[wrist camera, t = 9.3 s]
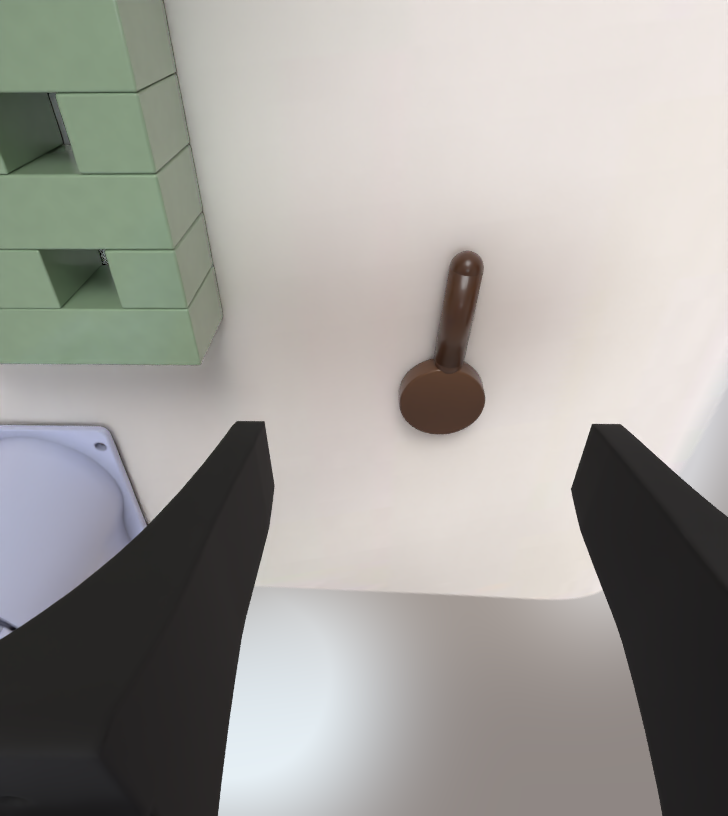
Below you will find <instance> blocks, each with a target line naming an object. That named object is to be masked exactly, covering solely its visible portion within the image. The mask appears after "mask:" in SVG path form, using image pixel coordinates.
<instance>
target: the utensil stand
mask: <svg viewBox="0 0 728 816" xmlns="http://www.w3.org/2000/svg"><path fill="white" fill-rule="evenodd" d="M175 72H176V67H175V61H174V56H173V51H172V46H171V40H170V35H169V30H168V25H167V20H166V14H165V9H164V4H163V0H0V364H106V365H201V363H202V361H203V359H204V357H205V355H206V353H207V350H208V348H209V346H210V344H211V342H212V340H213V337H214V335H215V333H216V331H217V329H218V327H219V324H220V322H221V320H222V318H223V313H222V307H221V302H220V297H219V292H218V286H217V281H216V276H215V271H214V266H212V265H213V262H212V256H211V251H210V246H209V241H208V235H207V230H206V225H205V220H204V215H203V213H202V210H203V209H202V204H201V199H200V193H199V188H198V183H197V178H196V172H195V167H194V162H193V157H192V151H191V147H190V145H188V144H189V136H188V131H187V125H186V120H185V115H184V110H183V104H182V99H181V94H180V89H179V83H178V78H177V75H176V74H174V73H175ZM47 93H57V94H56V100H57V103H58V106H59V110H60V113H61V116H62V119H63V122H64V125H65V129H66V132H67V135H68V138H69V141H70V144H71V145H62V144H63V140H62V137H61V134H60V131H59V128H58V125H57V122H56V119H55V115H54V112H53V109H52V106H51V103H50V100H49V97H48V94H47ZM98 249H106V250H105V255H106V258H107V261H108V265H102V261H101V258H100V255H99V252H98Z"/></svg>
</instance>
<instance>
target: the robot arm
mask: <svg viewBox="0 0 728 816" xmlns="http://www.w3.org/2000/svg"><path fill="white" fill-rule="evenodd" d="M100 443H102V444H104V445H102V444H100ZM571 491H572V496H573V501H574V505H575V510H576V514H577V518H578V522H579V526H580V530H581V533H582V536H583V539H584V542H585V544H586V547H587V549H588V552H589V555H590V557H591V560H592V563H593V565H594V568H595V571H596V573H597V576H598V578H599V581H600V583H601V586H602V589H603V591H604V594H605V596H606V599H607V602H608V604H609V607H610V609H611V612H612V614H613V617H614V620H615V622H616V625H617V628H618V631H619V634H620V637H621V640H622V643H623V647H624V650H625V654H626V658H627V661H628V665H629V669H630V673H631V677H632V680H633V684H634V688H635V692H636V696H637V700H638V704H639V708H640V712H641V716H642V720H643V725H644V729H645V733H646V737H647V742H648V746H649V751H650V756H651V761H652V765H653V770H654V775H655V779H656V784H657V788H658V794H659V799H660V805H661V810H662V815H663V816H728V517H727V516H726V515H725V514H723V513H722V512H721V511H719V510H718V509H717V508H716V507H714V506H713V505H712V504H711V503H710V502H708V501H707V500H706V499H705V498H704V497H702V496H701V495H700V494H699V493H698V492H696V491H695V490H694V489H693V488H692V487H691V486H689V485H688V484H687V483H686V482H685V481H684V480H682V479H681V478H680V477H679V476H678V475H677V474H676V473H675V472H674V471H672V470H671V469H670V468H669V467H668V466H667V465H666V464H665V463H663V462H662V461H661V460H660V459H659V458H658V457H657V456H656V455H655V454H654V453H652V452H651V451H650V450H649V449H648V448H647V447H646V446H645V445H644V444H643V443H641V442H640V441H639V440H638V439H637V438H636V437H635V436H634V435H632V434H631V433H630V432H629V431H628V430H627V429H626V428H624V427H623V426H622V425H621V424H592V426H591V429H590V432H589V435H588V439H587V442H586V445H585V448H584V451H583V454H582V457H581V460H580V463H579V466H578V469H577V472H576V475H575V479H574V482H573V485H572V488H571ZM273 494H274V480H273V473H272V467H271V460H270V454H269V448H268V441H267V435H266V428H265V422H264V421H237V422H236V423H235V424H234V425H233V426H232V427H231V428H230V430H229V431H228V432H227V434H226V435H225V436H224V438H223V439H222V440H221V442H220V443H219V444H218V446H217V447H216V448H215V449H214V451H213V452H212V453H211V455H210V456H209V457H208V458H207V460H206V461H205V462H204V463H203V465H202V466H201V467H200V468H199V469H198V471H197V472H196V473H195V474H194V475H193V476H192V478H191V479H190V480H189V481H188V482H187V484H186V485H185V486H184V487H183V488H182V489H181V491H180V492H179V493H178V494H177V495H176V496H175V497H174V498H173V499H172V500H171V501H170V502H169V504H168V505H167V506H166V507H165V508H164V509H163V510H162V511H161V512H160V513H159V514H158V515H157V516H156V517H155V518H154V519H153V520H152V521H151V522H150V523H149V524H148V525H146V522H145V519H144V517H143V514H142V512H141V509H140V507H139V504H138V502H137V499H136V497H135V494H134V491H133V489H132V486H131V484H130V481H129V479H128V476H127V474H126V471H125V468H124V466H123V463H122V461H121V458H120V456H119V453H118V451H117V448H116V446H115V443H114V440H113V438H112V435H111V433H110V432H109V431H108V430H107V429H106V428H104V427H101V426H53V425H0V816H218V809H219V800H220V791H221V782H222V774H223V766H224V758H225V749H226V742H227V734H228V726H229V719H230V712H231V705H232V698H233V690H234V684H235V677H236V670H237V664H238V658H239V651H240V645H241V639H242V634H243V629H244V624H245V619H246V615H247V611H248V607H249V604H250V600H251V596H252V592H253V588H254V584H255V581H256V577H257V573H258V569H259V565H260V561H261V557H262V553H263V550H264V546H265V542H266V538H267V534H268V530H269V525H270V517H271V510H272V502H273Z"/></svg>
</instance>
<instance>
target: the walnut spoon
mask: <svg viewBox="0 0 728 816" xmlns="http://www.w3.org/2000/svg"><path fill="white" fill-rule="evenodd" d="M483 270H484V265H483V261H482V259H481V257H480V256H479V255H478V254H476V253H474V252H472V251H463V252H461V253H458V254H457V255H456V256H455V257H454V258H453V259H452V261H451V264H450V268H449V274H448V280H447V286H446V291H445V297H444V303H443V309H442V314H441V320H440V326H439V332H438V338H437V343H436V349H435V355H434V359H430V360H427V361H424V362H422V363H420V364H418V365H416V366H415V367H413V368H412V369H411V370H410V371H409V372H408V373H407V374H406V375H405V377H404V378H403V380H402V382H401V385H400V389H399V404H400V410H401V413H402V415H403V417H404V418H405V420H406V421H407V422H408V423H409V424H410V425H411V426H413V427H414V428H416V429H418V430H420V431H422V432H426V433H430V434H449V433H454V432H457V431H460V430H462V429H464V428H466V427H468V426H469V425H471V424H472V423H473V422H474V421H475V420H476V419H477V418H478V417H479V416H480V414H481V412H482V410H483V408H484V404H485V394H484V389H483V384H482V381H481V378H480V376H479V374H478V373H477V372H476V370H474V369H473V368H472V367H471V366H470V365H468V364H467V363H465V362H464V358H465V353H466V349H467V344H468V339H469V335H470V330H471V326H472V321H473V317H474V312H475V307H476V303H477V298H478V294H479V289H480V284H481V280H482V275H483Z"/></svg>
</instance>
